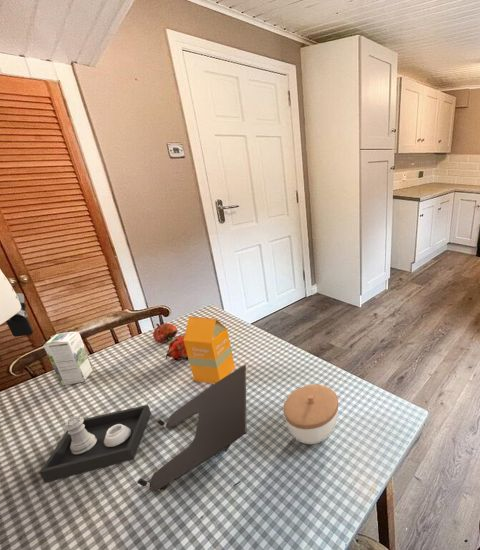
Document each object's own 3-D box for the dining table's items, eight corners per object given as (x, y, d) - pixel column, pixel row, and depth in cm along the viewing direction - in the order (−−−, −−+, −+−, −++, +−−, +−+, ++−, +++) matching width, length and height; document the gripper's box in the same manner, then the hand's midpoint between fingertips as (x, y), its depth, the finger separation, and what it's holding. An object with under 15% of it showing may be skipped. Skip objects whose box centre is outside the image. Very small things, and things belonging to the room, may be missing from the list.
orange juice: (220, 384, 89) (207, 326, 82) (193, 381, 90) (178, 323, 83) (235, 367, 96) (224, 312, 89) (210, 364, 98) (197, 309, 90)
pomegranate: (184, 343, 112) (171, 322, 115) (183, 335, 107) (169, 313, 109) (162, 354, 108) (149, 332, 110) (159, 346, 102) (146, 323, 105)
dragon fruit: (208, 350, 107) (174, 373, 99) (192, 333, 108) (157, 354, 100) (210, 339, 102) (174, 363, 93) (193, 322, 102) (156, 343, 94)
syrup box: (72, 373, 94) (54, 333, 88) (94, 370, 95) (78, 330, 90) (61, 386, 88) (41, 344, 83) (85, 382, 90) (67, 341, 85)
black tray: (44, 483, 62) (38, 472, 61) (77, 430, 74) (73, 421, 73) (133, 459, 67) (129, 449, 66) (151, 413, 79) (148, 404, 78)
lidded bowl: (332, 405, 82) (330, 372, 78) (346, 444, 71) (344, 408, 67) (284, 419, 77) (279, 385, 73) (291, 463, 66) (286, 425, 62)
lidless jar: (136, 433, 73) (122, 427, 74) (133, 423, 72) (118, 418, 73) (114, 450, 69) (99, 444, 70) (110, 441, 67) (95, 434, 69)
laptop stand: (185, 429, 81) (160, 410, 77) (260, 380, 84) (240, 359, 80) (166, 518, 61) (130, 500, 57) (265, 450, 64) (239, 427, 60)
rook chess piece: (100, 444, 70) (89, 418, 67) (76, 459, 67) (62, 432, 64) (93, 435, 72) (81, 409, 69) (68, 449, 69) (55, 423, 66)
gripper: (-23, 257, 62) (13, 329, 68) (-111, 291, 47) (-54, 379, 53) (24, 254, 64) (55, 323, 71) (-45, 284, 49) (2, 369, 56)
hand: (8, 347), depth 62 cm, fingers open, 9 cm apart
